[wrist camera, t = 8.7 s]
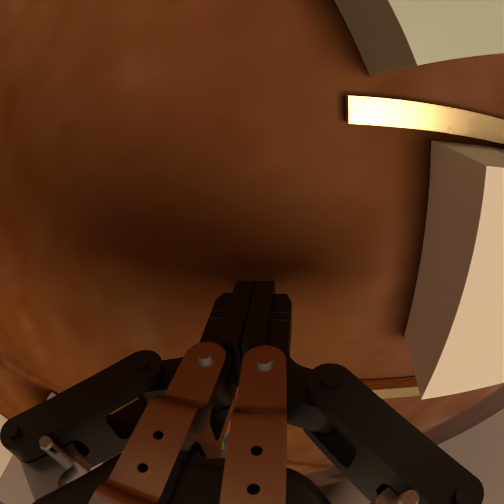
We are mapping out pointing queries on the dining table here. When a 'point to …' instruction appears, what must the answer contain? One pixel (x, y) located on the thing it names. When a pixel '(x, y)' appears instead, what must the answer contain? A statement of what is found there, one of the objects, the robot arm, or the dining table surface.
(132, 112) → the dining table surface
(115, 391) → the robot arm
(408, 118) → the frame
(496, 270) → the carton
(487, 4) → the green box
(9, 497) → the milk carton
